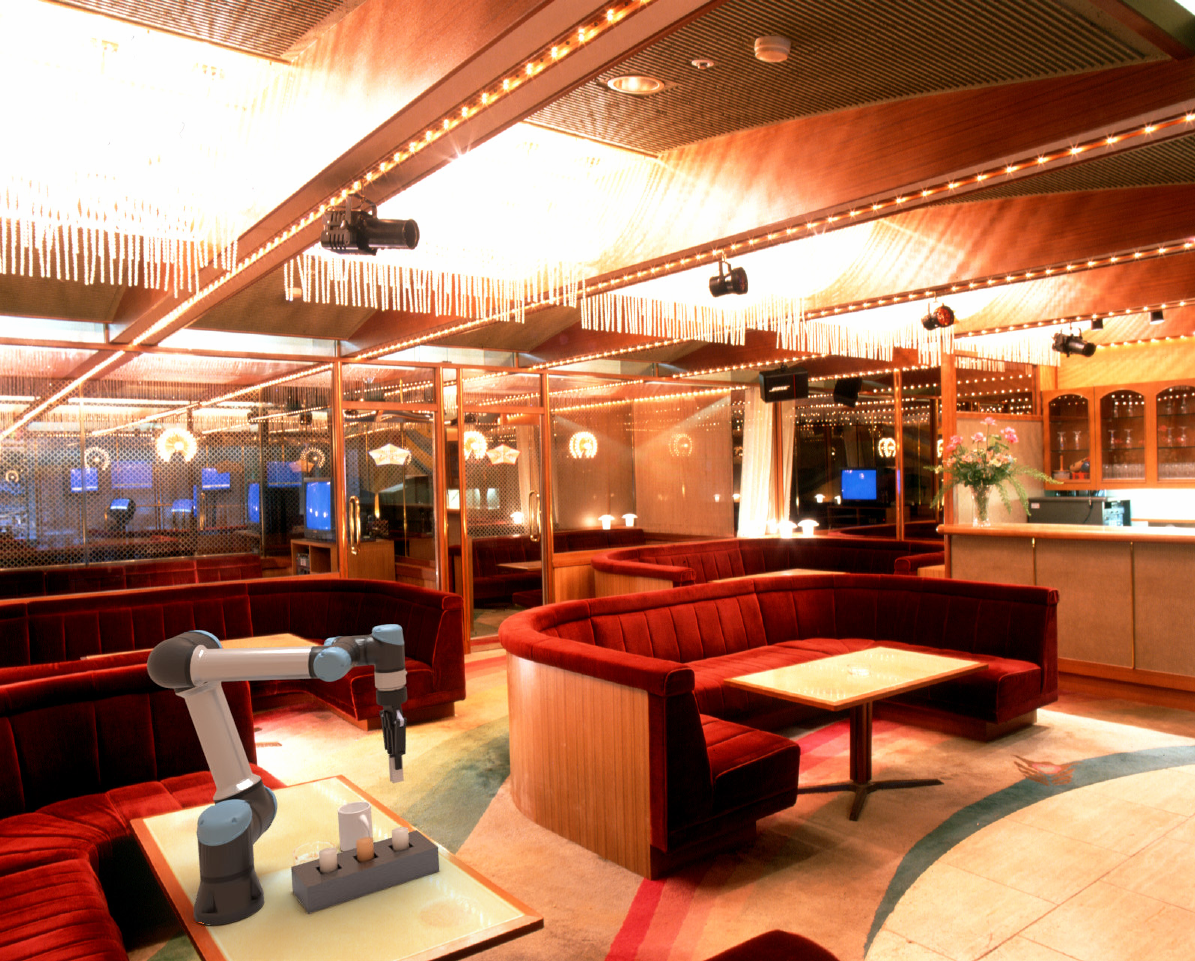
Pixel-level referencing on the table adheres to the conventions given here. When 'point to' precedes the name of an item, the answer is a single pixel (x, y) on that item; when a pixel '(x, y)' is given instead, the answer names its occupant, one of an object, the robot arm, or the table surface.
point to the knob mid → (365, 849)
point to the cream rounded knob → (400, 839)
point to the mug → (354, 823)
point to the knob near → (328, 860)
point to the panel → (363, 873)
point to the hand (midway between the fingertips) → (396, 780)
